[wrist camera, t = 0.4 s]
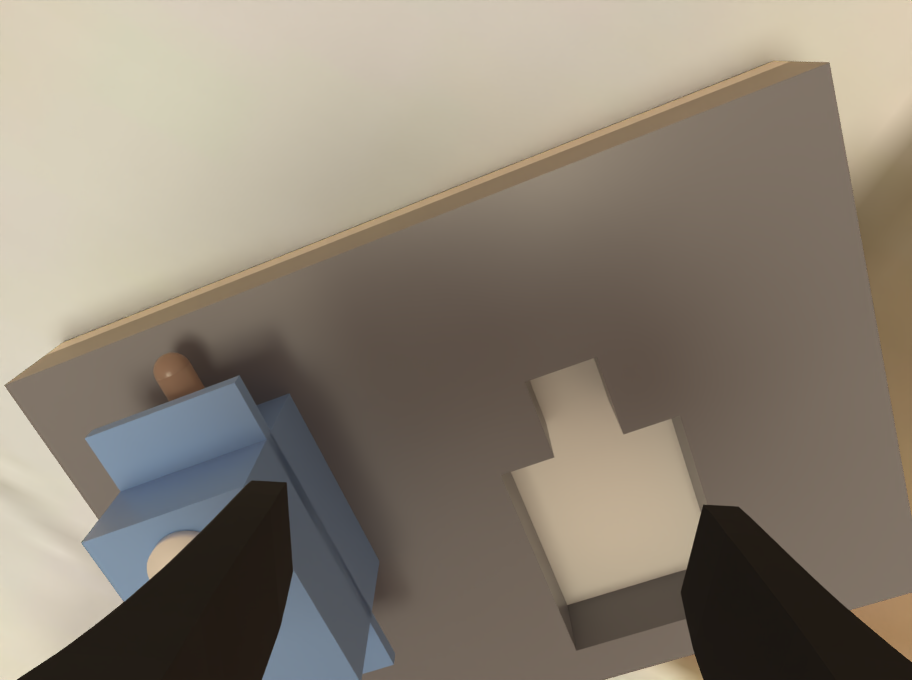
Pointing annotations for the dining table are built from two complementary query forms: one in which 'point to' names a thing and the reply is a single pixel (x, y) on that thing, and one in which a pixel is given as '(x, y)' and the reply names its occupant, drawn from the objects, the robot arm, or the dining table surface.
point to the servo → (214, 485)
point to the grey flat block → (563, 382)
